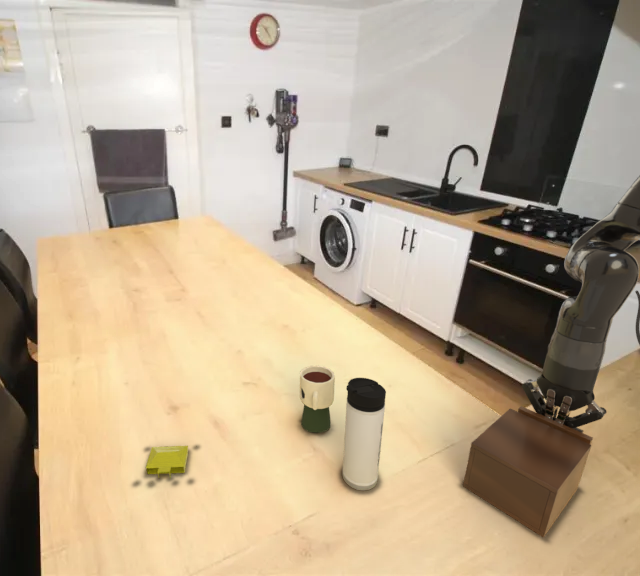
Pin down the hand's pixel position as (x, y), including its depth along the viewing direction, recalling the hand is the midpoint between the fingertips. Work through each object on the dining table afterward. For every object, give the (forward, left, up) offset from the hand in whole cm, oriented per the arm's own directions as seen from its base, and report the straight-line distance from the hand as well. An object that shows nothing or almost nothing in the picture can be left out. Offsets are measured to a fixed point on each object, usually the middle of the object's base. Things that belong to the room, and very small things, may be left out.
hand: (550, 437), depth 77 cm
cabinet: (+12, 0, -4) cm, 13 cm away
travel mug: (+32, -19, -5) cm, 37 cm away
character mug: (+28, -34, -5) cm, 44 cm away
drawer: (+5, 0, -3) cm, 6 cm away
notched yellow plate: (+58, -44, -5) cm, 73 cm away
